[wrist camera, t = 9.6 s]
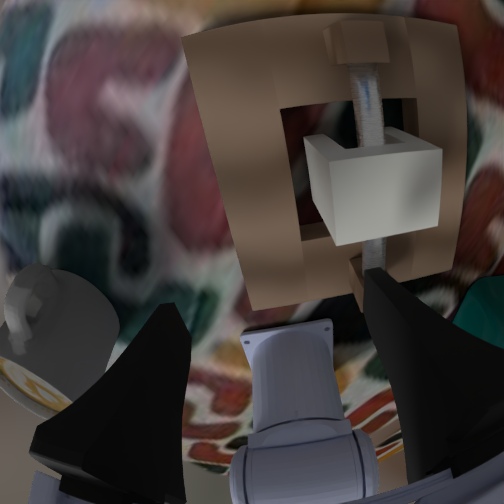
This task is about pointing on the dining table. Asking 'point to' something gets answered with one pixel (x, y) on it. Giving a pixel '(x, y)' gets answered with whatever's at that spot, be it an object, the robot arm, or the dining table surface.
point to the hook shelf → (314, 92)
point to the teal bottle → (484, 310)
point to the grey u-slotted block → (375, 186)
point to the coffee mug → (54, 338)
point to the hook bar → (368, 138)
